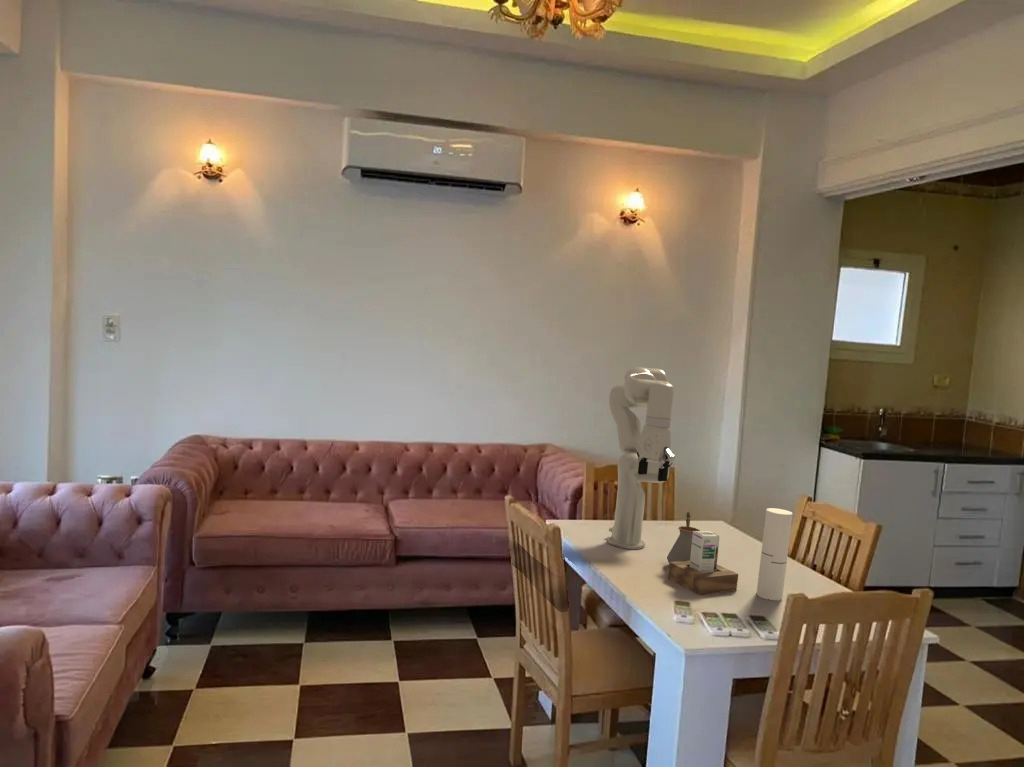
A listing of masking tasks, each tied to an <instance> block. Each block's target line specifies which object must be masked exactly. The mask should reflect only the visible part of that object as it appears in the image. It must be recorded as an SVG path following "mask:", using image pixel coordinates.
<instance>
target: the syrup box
mask: <svg viewBox="0 0 1024 767" xmlns="http://www.w3.org/2000/svg"><path fill="white" fill-rule="evenodd" d="M719 546H720V535H718V534H717V533H715V532H713V531H710V530H705V531H704V530H702V531H701V530H700V531H693V536H692V546H691V557H690V567H691V568H693V569H695V570H697V571H699V572H701V573H709V572H716V567H717V565H718V558H719V557H718V556H719V555H718V554H719Z"/></svg>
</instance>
